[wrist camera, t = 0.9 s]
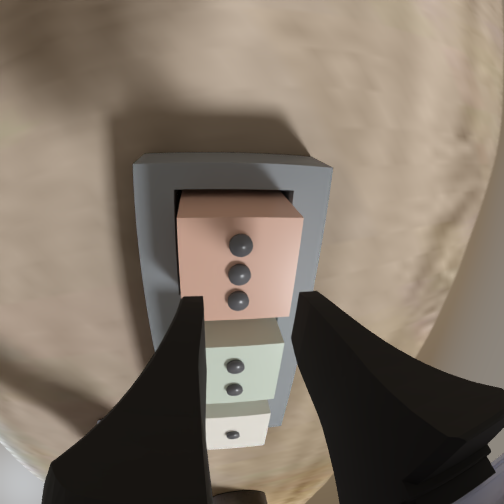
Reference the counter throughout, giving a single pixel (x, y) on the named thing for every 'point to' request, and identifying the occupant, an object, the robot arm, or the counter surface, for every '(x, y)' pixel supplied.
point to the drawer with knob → (237, 424)
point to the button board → (224, 177)
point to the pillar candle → (241, 498)
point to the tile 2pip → (242, 359)
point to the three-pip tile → (238, 251)
